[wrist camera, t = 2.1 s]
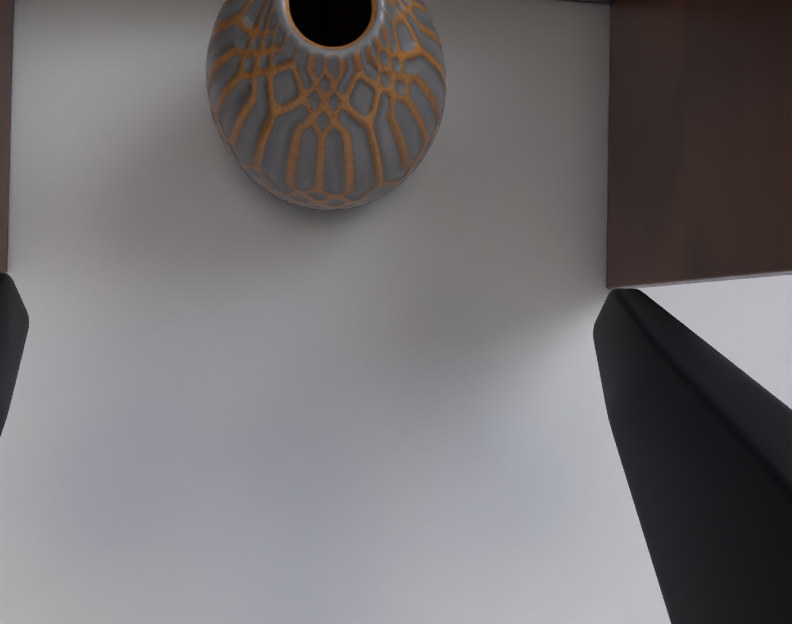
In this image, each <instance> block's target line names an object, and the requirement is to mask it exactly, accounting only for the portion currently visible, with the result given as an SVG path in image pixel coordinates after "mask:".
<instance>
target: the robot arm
mask: <svg viewBox="0 0 792 624" xmlns="http://www.w3.org/2000/svg"><path fill="white" fill-rule="evenodd" d="M28 328H29V317H28V313H27V310H26V308H25V306H24V304H23V301H22V299H21V297H20V295H19V293H18V290H17V288H16V286H15V284H14V281H13V280H12V278H11V277H10V276H9V275H8V274H6V273H3V272H0V436H1V433H2V430H3V427H4V424H5V421H6V418H7V415H8V411H9V407H10V404H11V399H12V395H13V391H14V387H15V383H16V379H17V375H18V370H19V366H20V362H21V358H22V354H23V350H24V345H25V341H26V337H27V333H28ZM593 338H594V344H595V350H596V355H597V360H598V366H599V371H600V377H601V382H602V388H603V393H604V399H605V404H606V409H607V414H608V418H609V422H610V426H611V429H612V433H613V436H614V439H615V443H616V446H617V449H618V452H619V456H620V459H621V462H622V465H623V469H624V472H625V475H626V478H627V482H628V485H629V488H630V491H631V495H632V498H633V501H634V504H635V508H636V511H637V514H638V517H639V521H640V524H641V527H642V530H643V534H644V537H645V540H646V543H647V547H648V550H649V553H650V556H651V560H652V563H653V566H654V569H655V573H656V576H657V579H658V582H659V586H660V589H661V592H662V595H663V599H664V602H665V605H666V608H667V611H668V615H669V618H670V621H671V624H792V409H790V408H789V407H788V406H786V405H785V404H784V403H783V402H781V401H780V400H779V399H778V398H776V397H775V396H774V395H772V394H771V393H770V392H769V391H767V390H766V389H765V388H764V387H762V386H761V385H760V384H759V383H757V382H756V381H755V380H753V379H752V378H751V377H750V376H748V375H747V374H746V373H745V372H743V371H742V370H741V369H740V368H738V367H737V366H736V365H734V364H733V363H732V362H731V361H729V360H728V359H727V358H726V357H724V356H723V355H722V354H720V353H719V352H718V351H717V350H715V349H714V348H713V347H712V346H710V345H709V344H708V343H707V342H705V341H704V340H703V339H701V338H700V337H699V336H698V335H696V334H695V333H694V332H693V331H691V330H690V329H689V328H687V327H686V326H685V325H684V324H682V323H681V322H680V321H679V320H677V319H676V318H675V317H674V316H672V315H671V314H670V313H668V312H667V311H666V310H665V309H663V308H662V307H661V306H660V305H658V304H657V303H656V302H654V301H653V300H652V299H651V298H649V297H648V296H647V295H646V294H644V293H643V292H642V291H640V290H638V289H626V288H616V289H613V290H612V291H611V292H610V293H609V294H608V296H607V298H606V300H605V302H604V304H603V307H602V309H601V311H600V313H599V315H598V317H597V319H596V322H595V324H594V329H593Z"/></svg>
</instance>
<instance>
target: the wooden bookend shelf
mask: <svg viewBox="0 0 792 624" xmlns="http://www.w3.org/2000/svg"><path fill="white" fill-rule="evenodd" d="M572 1H584V2H596V3H607V4H611V61H610V123H609V184H608V245H607V288H608V289H616V288H626V289H633V288H644V287H655V286H667V285H678V284H689V283H701V282H712V281H724V280H735V279H746V278H758V277H769V276H780V275H792V0H572ZM13 3H14V0H0V272H3V273H5V272H6V271H7V247H8V207H9V166H10V125H11V85H12V44H13Z"/></svg>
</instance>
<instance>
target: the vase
mask: <svg viewBox="0 0 792 624" xmlns="http://www.w3.org/2000/svg"><path fill="white" fill-rule="evenodd" d="M206 86H207V94H208V101H209V106H210V110H211V113H212V117H213V119H214V122H215V125H216V127H217V130H218V132H219V134H220V136H221V138H222V140H223V142H224V144H225V146H226V147H227V149H228V150H229V152H230V153H231V155H232V156H233V158H234V159H235V160H236V162H237V163H238V164H239V165H240V167H241V168H242V169H243V170H244V171H245V172H246V173H247V174H248V175H249V176H250V177H251V178H252V179H253V180H254V181H255V182H257V183H258V184H259V185H260V186H262V187H263V188H264V189H266V190H267V191H269V192H270V193H272V194H274V195H275V196H277V197H279V198H281V199H283V200H285V201H288V202H290V203H293V204H296V205H299V206H303V207H308V208H313V209H321V210H339V209H347V208H353V207H357V206H361V205H364V204H367V203H370V202H372V201H374V200H376V199H378V198H380V197H382V196H384V195H386V194H387V193H389V192H390V191H392V190H393V189H394V188H396V187H397V186H398V185H399V184H401V183H402V182H403V181H404V180H405V179H406V178H407V177H408V176H409V175H410V174H411V173H412V172H413V171H414V170H415V168H416V167H417V166H418V165H419V163H420V162H421V161H422V159H423V158H424V156H425V155H426V153H427V152H428V150H429V148H430V146H431V144H432V142H433V140H434V138H435V136H436V133H437V131H438V128H439V125H440V122H441V118H442V114H443V109H444V103H445V95H446V73H445V63H444V57H443V52H442V47H441V43H440V40H439V36H438V34H437V31H436V28H435V26H434V23H433V21H432V19H431V17H430V15H429V13H428V11H427V9H426V7H425V6H424V4H423V3H422V1H421V0H226V2H225V3H224V5H223V7H222V9H221V11H220V13H219V15H218V17H217V20H216V22H215V25H214V28H213V31H212V35H211V38H210V42H209V47H208V53H207V62H206Z"/></svg>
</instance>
